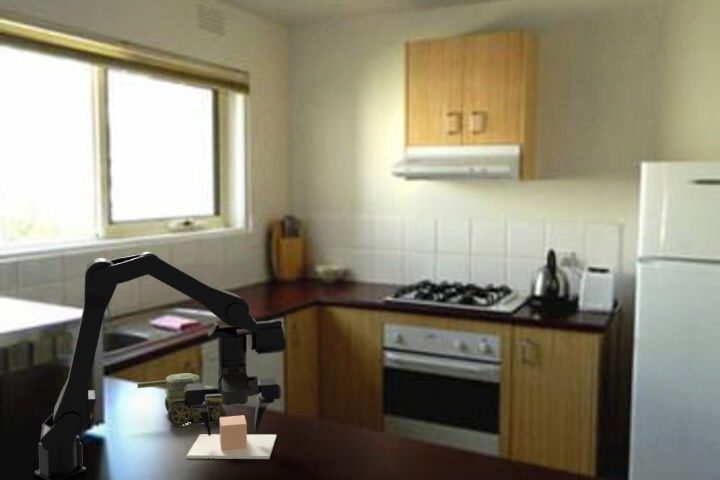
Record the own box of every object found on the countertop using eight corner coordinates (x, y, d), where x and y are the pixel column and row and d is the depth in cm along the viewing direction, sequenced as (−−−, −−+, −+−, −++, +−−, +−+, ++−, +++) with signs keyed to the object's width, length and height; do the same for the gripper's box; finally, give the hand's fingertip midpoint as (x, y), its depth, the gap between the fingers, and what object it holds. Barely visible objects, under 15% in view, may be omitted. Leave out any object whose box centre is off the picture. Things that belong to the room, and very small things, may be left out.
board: (186, 458, 131) (186, 455, 130) (200, 436, 141) (200, 434, 141) (269, 458, 130) (269, 455, 130) (276, 437, 141) (276, 434, 141)
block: (221, 450, 133) (220, 425, 132) (219, 441, 138) (219, 417, 137) (246, 448, 134) (246, 423, 134) (244, 438, 139) (244, 415, 139)
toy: (137, 416, 154) (136, 374, 153) (219, 407, 160) (218, 366, 160) (139, 432, 145) (138, 386, 144) (226, 421, 151) (225, 378, 150)
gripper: (184, 371, 124) (185, 453, 126) (284, 364, 129) (285, 443, 130) (183, 356, 135) (185, 431, 136) (276, 350, 140) (277, 423, 141)
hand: (233, 433), depth 136 cm, fingers open, 9 cm apart
